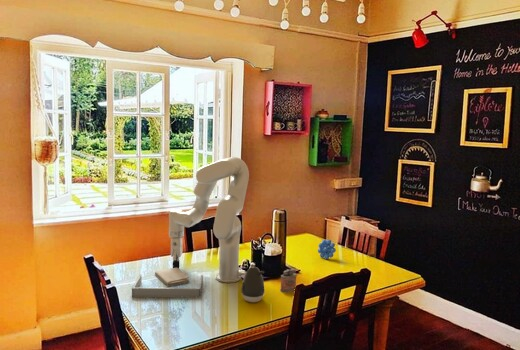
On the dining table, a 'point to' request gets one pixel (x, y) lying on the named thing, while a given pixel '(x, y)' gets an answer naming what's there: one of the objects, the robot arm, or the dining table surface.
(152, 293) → the box
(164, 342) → the dining table surface
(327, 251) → the blue knobbly wheel
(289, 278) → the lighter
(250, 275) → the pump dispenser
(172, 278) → the washcloth
